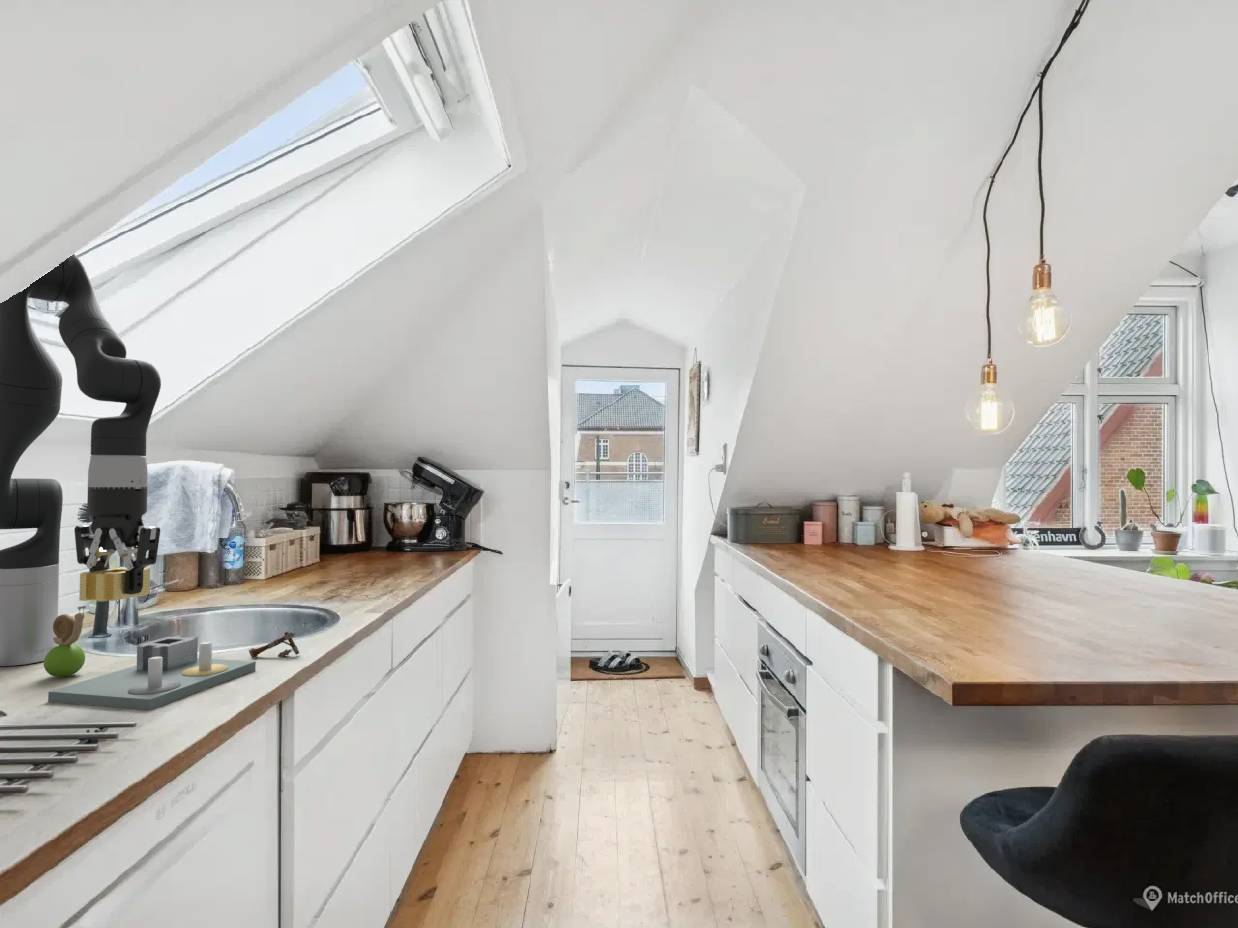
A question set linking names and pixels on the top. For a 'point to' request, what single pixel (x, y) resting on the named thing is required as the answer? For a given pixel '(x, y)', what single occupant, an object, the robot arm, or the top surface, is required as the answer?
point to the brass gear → (109, 585)
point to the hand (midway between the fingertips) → (116, 592)
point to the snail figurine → (66, 646)
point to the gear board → (132, 677)
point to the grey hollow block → (168, 652)
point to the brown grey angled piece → (276, 642)
